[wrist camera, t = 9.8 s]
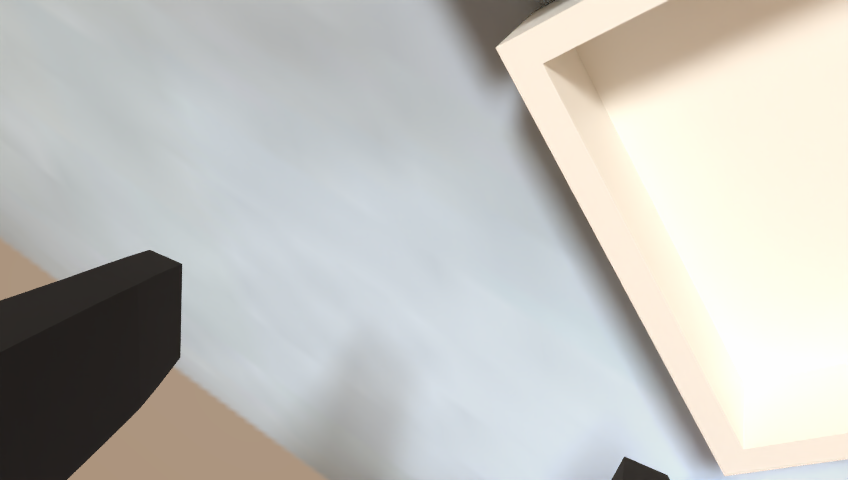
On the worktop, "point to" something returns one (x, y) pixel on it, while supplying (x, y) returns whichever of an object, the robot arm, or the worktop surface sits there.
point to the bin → (714, 198)
